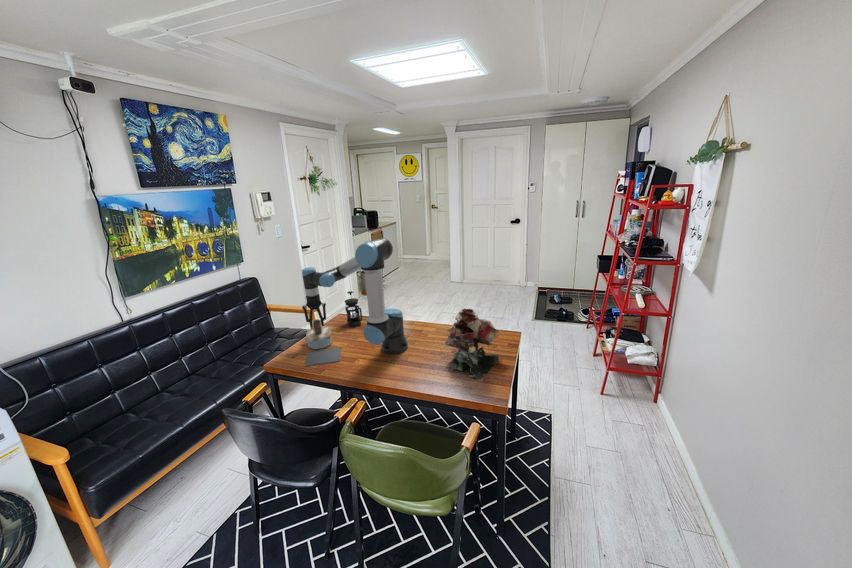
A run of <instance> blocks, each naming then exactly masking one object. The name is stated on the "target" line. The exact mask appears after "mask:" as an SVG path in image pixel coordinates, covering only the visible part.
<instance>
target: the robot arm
mask: <svg viewBox="0 0 852 568" xmlns="http://www.w3.org/2000/svg"><path fill="white" fill-rule="evenodd" d="M393 252H394V247H393V244H392V243H391V241H390V240H389V239H388V238H384V237H379V238H375V239H372V240H369V241H364V242H363V243H361V244H360V245H357V248H356V249H355V253H354V257H352V258H350V259H349V260H347V261H345V262H343V263H341V264H340V265H338V266H336V267H334V268H331V269H329V270H326V271H323V272H317V271H316V268H315V266H310V267H308V266H307V267H305V268H303V269H302V270H301V277H302V281H303V287H304V294H305V300H306V304H305V305H304V304H303V305H302V308H301V309H302V310H303V314H304V316H305V321H306V323H309V325H310V328H312V329H313V332H314V333H315V328H314V322H313V321H314V320H313V314H314V313H313V312H314V311H315V310H316V312H317V314H318V316H319V320H320V326H321V332H323V328H324V326H325V322H324V321H325V320H326V319H327V312H326V305H327V303H326V302H322V301H321V298H320V296H321V295H320V290H319V287H324V288H331V287H333V286H334V284H335V283H336V282H338V281H341V280H344V279H346V278H347V277H348V276H351V275H352V274H354V273H356V272H358V271H360V270H361V271H363V272H364V278H365V279H364V280H365V281H364V282H365V288H366V289H365V291H366V298H367V299H366V300H367V308H368V310H367V311H368V316H367V317H366V321H365V322H366V326H364V328H363V330H362V332H363V333H362V334H363V336H364V338H365V340H366V341H367V342H368V343H370V344H371V345H375V346H377V345H381V350H382V352H384V353H387V354H389V355H392V354H393V355H394V354H400V353H404V352H405V351H406V350H407V349H408V348H409V343H408V339H407V338H406V336H405V329H404V316H403V315H404V314H403V312H402V310H400V309H398V308H386V307H385V305H386V304H385V292H384V282H383V281H384V280H383V270H384V269H385V261H386V260H388V259H389V258H391V256H392V255H393ZM320 307H322V312H321V310H320V309H321V308H320ZM307 308H308V309H309V311H310V312H309V314H308V310H307Z"/></svg>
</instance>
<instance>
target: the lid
mask: <svg viewBox="0 0 852 568" xmlns="http://www.w3.org/2000/svg"><path fill="white" fill-rule="evenodd" d="M312 321H313V322H314V328H315V333H314V332H313V328H311V329H307V330H306V335H305V338H304V341H305V343H308V342H310V341H317V340H324V339H330V338H331V339H332V326H325V327H323V332H321V326H320V318H319V319H318V318H317V319H314V320H312Z"/></svg>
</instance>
